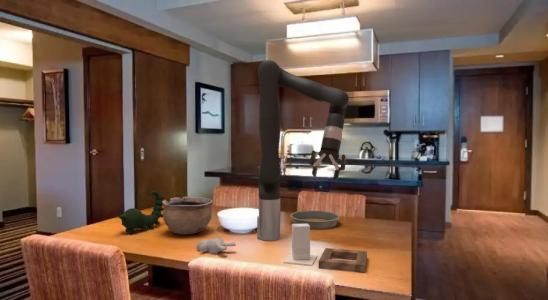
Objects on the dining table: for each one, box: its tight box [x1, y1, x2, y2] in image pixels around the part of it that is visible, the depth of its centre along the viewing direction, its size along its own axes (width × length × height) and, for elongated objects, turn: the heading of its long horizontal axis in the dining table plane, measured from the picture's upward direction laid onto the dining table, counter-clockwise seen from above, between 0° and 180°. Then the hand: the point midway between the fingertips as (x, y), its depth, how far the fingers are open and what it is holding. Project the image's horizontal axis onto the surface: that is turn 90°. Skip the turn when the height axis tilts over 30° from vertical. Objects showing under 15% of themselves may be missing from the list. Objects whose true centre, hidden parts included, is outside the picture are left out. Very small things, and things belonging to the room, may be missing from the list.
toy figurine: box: [117, 190, 165, 235], centre depth 176 cm, size 9×19×25 cm
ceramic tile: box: [283, 252, 318, 267], centre depth 135 cm, size 10×10×1 cm
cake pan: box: [289, 210, 341, 230], centre depth 190 cm, size 25×25×4 cm
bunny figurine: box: [195, 237, 237, 255], centre depth 144 cm, size 10×5×15 cm
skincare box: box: [291, 223, 311, 260], centre depth 135 cm, size 6×4×12 cm
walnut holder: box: [318, 247, 368, 274], centre depth 131 cm, size 15×15×2 cm
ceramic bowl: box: [162, 196, 213, 236], centre depth 172 cm, size 22×22×15 cm
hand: (324, 178), depth 150 cm, fingers open, 8 cm apart
